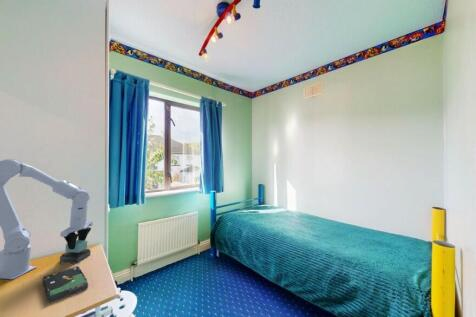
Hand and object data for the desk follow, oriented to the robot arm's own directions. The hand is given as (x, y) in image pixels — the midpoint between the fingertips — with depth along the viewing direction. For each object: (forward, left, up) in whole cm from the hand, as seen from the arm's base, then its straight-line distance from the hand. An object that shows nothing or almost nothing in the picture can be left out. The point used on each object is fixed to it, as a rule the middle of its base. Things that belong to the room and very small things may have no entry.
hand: (76, 246), depth 87 cm
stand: (0, 0, -5) cm, 5 cm away
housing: (0, 0, -1) cm, 1 cm away
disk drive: (+12, -17, -6) cm, 22 cm away
